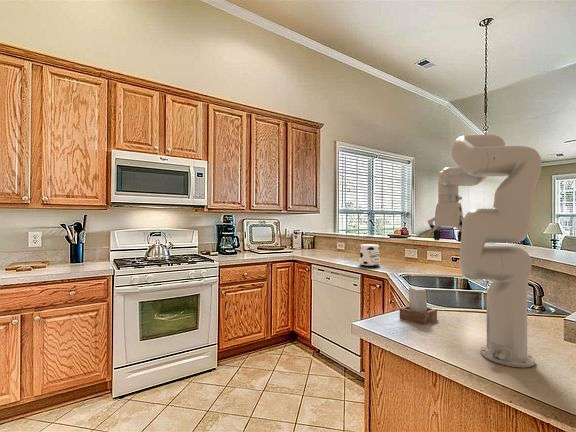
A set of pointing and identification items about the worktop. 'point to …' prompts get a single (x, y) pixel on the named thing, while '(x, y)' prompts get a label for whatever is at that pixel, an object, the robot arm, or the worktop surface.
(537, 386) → the worktop surface
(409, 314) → the brown wooden tray
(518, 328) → the robot arm
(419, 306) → the skincare box
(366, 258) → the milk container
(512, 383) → the worktop surface
